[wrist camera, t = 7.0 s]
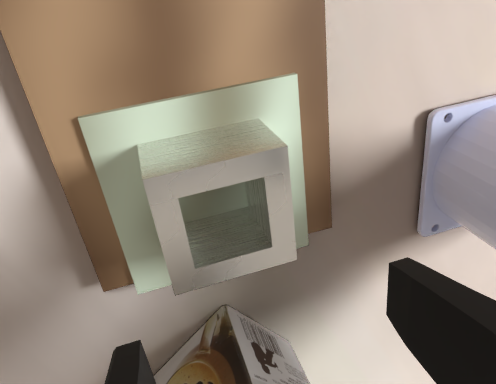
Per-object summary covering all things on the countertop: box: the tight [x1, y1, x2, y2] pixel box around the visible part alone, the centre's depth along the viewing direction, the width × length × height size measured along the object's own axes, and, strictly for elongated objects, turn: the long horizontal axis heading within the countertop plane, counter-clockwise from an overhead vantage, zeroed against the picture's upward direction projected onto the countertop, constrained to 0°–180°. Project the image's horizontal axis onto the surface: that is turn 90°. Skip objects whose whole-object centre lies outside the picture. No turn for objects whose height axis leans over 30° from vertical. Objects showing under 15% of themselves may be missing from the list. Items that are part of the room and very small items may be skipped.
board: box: [0, 0, 332, 295], centre depth 14 cm, size 12×22×6 cm, turn 7°
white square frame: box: [137, 118, 297, 296], centre depth 17 cm, size 5×5×4 cm
